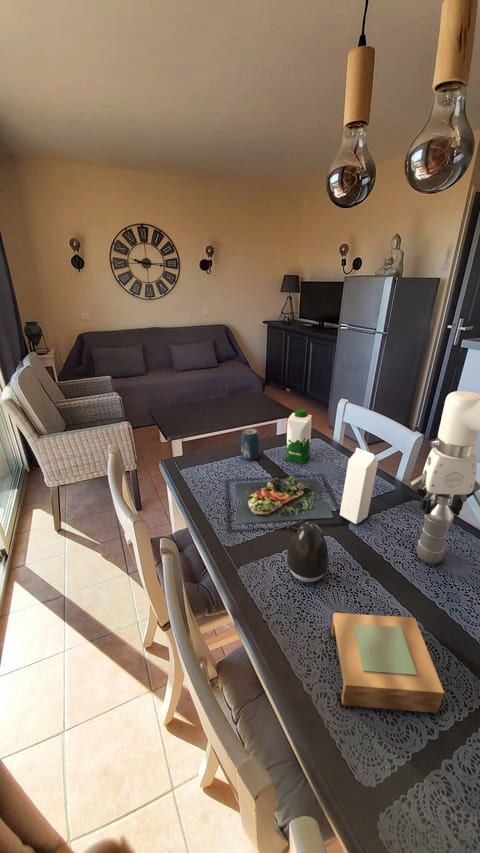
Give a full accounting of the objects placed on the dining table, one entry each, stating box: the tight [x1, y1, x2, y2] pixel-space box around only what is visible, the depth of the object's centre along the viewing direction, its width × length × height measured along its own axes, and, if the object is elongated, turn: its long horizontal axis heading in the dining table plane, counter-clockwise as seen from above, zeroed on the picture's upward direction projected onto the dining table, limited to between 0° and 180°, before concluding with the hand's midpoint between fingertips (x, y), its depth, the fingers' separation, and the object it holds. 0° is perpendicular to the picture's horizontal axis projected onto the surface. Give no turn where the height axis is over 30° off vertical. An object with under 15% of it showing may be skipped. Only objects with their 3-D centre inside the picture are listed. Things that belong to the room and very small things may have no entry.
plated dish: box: [234, 476, 334, 525], centre depth 118 cm, size 35×28×7 cm
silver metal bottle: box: [415, 494, 455, 565], centre depth 90 cm, size 6×7×20 cm
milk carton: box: [286, 408, 312, 464], centre depth 140 cm, size 9×9×20 cm
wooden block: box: [331, 612, 445, 714], centre depth 68 cm, size 16×14×6 cm
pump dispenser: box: [286, 521, 330, 583], centre depth 88 cm, size 10×10×15 cm
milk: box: [339, 447, 379, 525], centre depth 106 cm, size 6×6×22 cm
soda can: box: [240, 427, 260, 462], centre depth 144 cm, size 7×7×12 cm
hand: (439, 511), depth 88 cm, fingers closed on silver metal bottle, 6 cm apart
